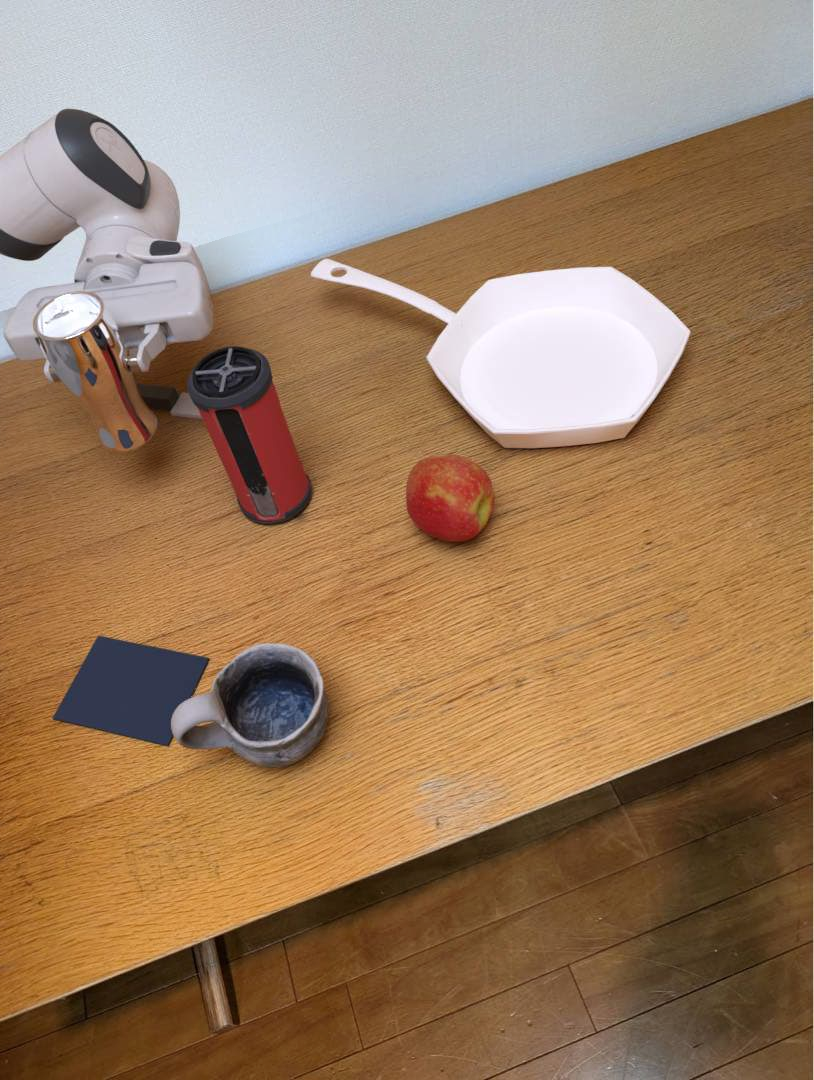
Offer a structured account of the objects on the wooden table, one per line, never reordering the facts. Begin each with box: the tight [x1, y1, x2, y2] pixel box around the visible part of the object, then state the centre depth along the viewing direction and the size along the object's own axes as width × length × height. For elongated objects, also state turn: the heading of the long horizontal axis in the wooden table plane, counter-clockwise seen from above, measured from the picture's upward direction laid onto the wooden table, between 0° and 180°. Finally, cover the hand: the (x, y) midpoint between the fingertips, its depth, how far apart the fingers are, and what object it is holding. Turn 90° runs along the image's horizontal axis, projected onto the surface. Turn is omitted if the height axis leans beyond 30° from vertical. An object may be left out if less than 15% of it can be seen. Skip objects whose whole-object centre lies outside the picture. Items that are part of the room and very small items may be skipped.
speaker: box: [186, 345, 313, 525], centre depth 95 cm, size 8×8×18 cm
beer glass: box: [33, 291, 158, 453], centre depth 94 cm, size 7×7×15 cm
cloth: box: [52, 635, 210, 747], centre depth 91 cm, size 12×9×1 cm
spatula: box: [136, 382, 203, 420], centre depth 113 cm, size 16×3×2 cm, turn 73°
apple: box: [405, 453, 495, 543], centre depth 94 cm, size 8×8×8 cm
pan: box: [310, 258, 691, 449], centre depth 108 cm, size 28×43×7 cm, turn 58°
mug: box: [171, 642, 329, 768], centre depth 81 cm, size 10×12×10 cm
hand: (95, 372), depth 93 cm, fingers closed on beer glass, 7 cm apart
